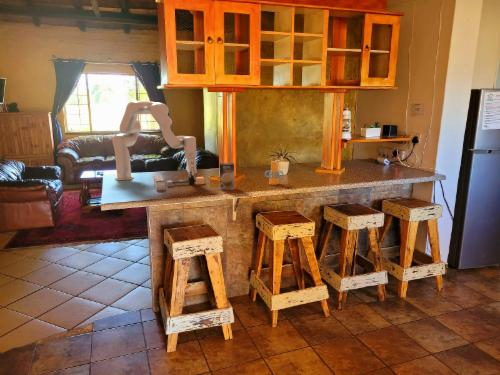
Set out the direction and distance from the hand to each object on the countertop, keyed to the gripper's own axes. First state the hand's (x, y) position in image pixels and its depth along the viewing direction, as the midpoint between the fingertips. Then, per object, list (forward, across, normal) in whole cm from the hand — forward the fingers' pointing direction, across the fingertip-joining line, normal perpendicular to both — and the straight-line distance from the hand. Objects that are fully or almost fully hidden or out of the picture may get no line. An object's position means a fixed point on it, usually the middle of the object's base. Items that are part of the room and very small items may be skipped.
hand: (191, 183), depth 242 cm
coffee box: (+1, -21, -18) cm, 28 cm away
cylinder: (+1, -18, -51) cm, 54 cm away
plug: (+1, 0, +4) cm, 4 cm away
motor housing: (+1, 0, +21) cm, 21 cm away
